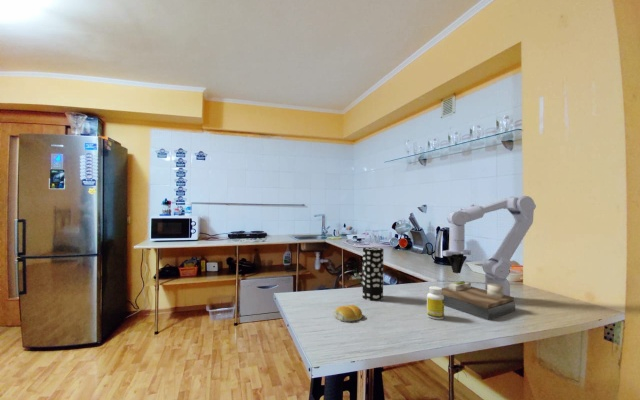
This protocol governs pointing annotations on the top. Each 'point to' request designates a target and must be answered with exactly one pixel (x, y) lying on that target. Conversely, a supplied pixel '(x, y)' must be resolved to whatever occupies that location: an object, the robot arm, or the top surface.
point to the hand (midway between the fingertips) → (456, 272)
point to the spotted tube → (372, 274)
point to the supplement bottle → (435, 303)
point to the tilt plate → (477, 294)
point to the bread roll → (348, 313)
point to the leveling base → (479, 308)
